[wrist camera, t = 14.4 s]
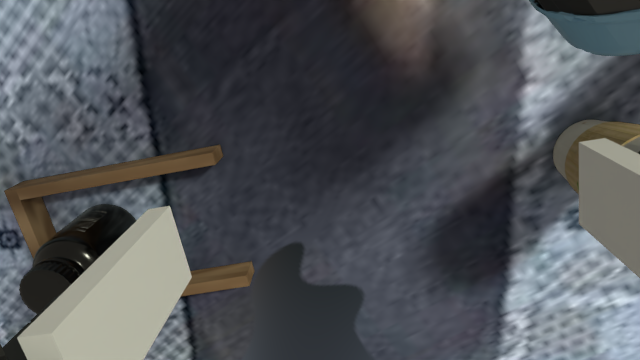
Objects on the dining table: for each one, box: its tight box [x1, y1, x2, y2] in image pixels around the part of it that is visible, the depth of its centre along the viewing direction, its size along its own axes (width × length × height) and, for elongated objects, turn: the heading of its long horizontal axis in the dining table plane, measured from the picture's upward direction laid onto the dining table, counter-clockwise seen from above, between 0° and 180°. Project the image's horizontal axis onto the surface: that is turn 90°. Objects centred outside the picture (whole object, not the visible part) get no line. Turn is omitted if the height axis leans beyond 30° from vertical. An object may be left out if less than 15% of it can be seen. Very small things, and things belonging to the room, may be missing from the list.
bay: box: [4, 145, 254, 296], centre depth 48 cm, size 17×22×5 cm
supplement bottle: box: [19, 204, 136, 314], centre depth 44 cm, size 7×7×12 cm
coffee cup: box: [553, 120, 640, 195], centre depth 38 cm, size 10×10×15 cm
